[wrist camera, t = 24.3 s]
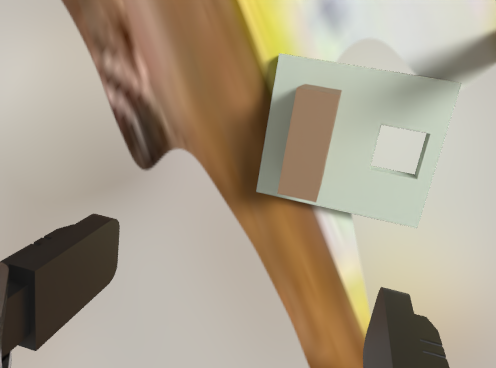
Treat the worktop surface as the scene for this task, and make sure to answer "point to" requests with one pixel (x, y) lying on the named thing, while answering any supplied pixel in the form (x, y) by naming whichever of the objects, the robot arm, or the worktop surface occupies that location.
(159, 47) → the worktop surface
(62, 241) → the robot arm
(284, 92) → the lid
